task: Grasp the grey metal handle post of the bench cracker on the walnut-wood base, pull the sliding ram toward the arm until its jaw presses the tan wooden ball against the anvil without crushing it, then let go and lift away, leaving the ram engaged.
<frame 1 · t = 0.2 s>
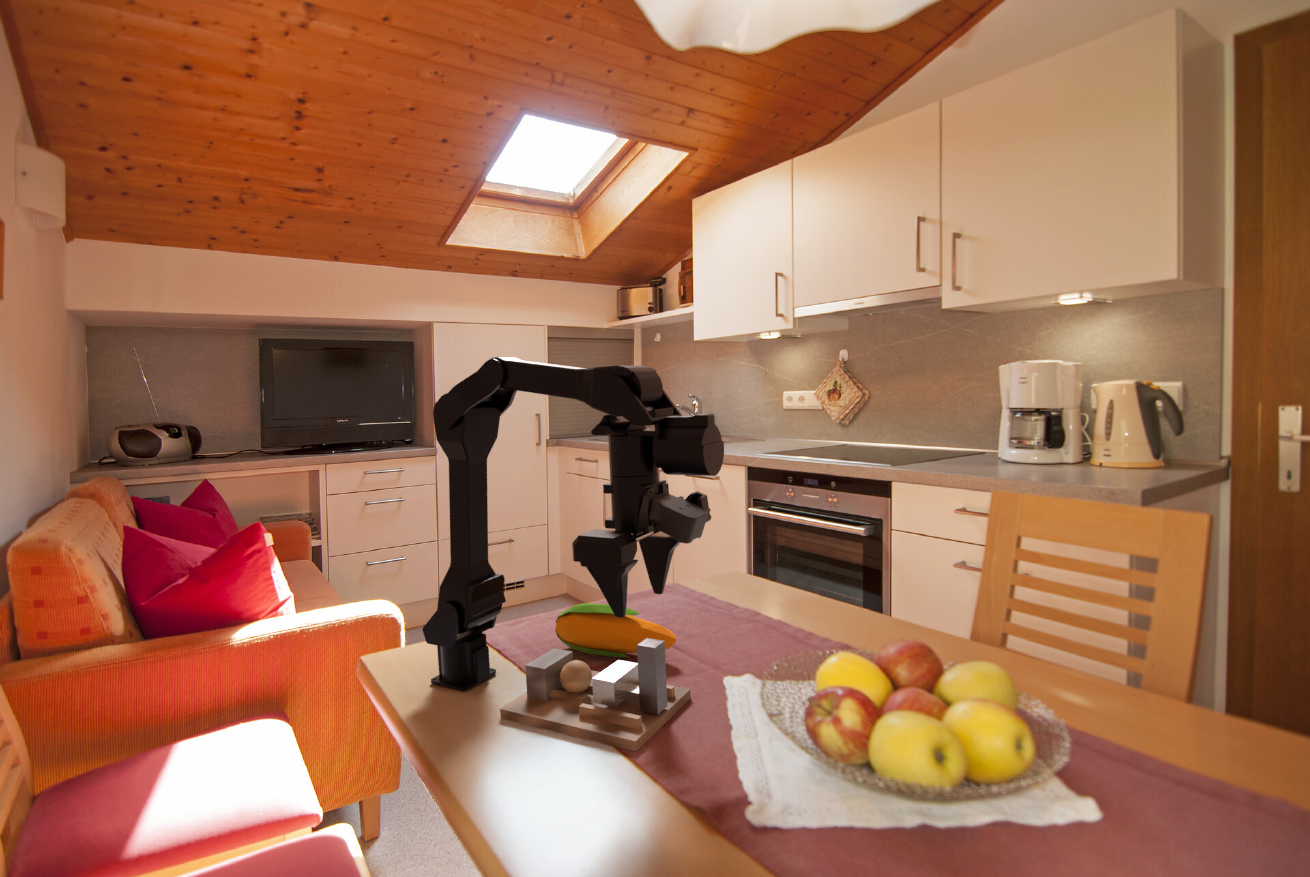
hand: (640, 604, 83), 14 cm above the table, fingers open, 9 cm apart
base: (597, 707, 87), on the table
ram: (632, 672, 84), point 6 cm above the table, slide at 0.0 cm
corn: (617, 654, 105), on the table
tan wooden ball: (576, 676, 88), point 4 cm above the table, touching base
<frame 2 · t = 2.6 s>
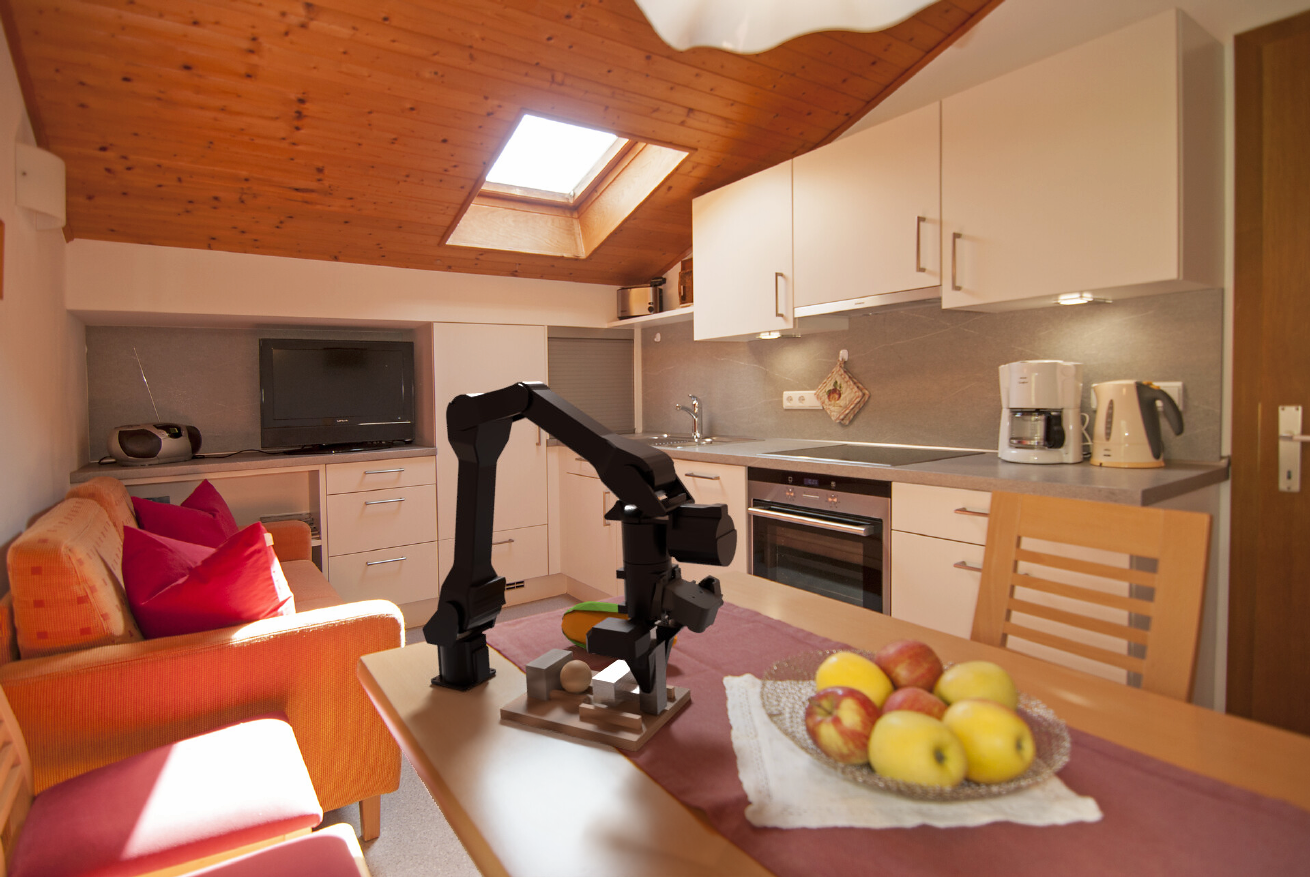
hand: (652, 687, 83), 4 cm above the table, fingers closed on ram, 2 cm apart
ram: (632, 672, 84), point 6 cm above the table, slide at 0.0 cm, touching gripper
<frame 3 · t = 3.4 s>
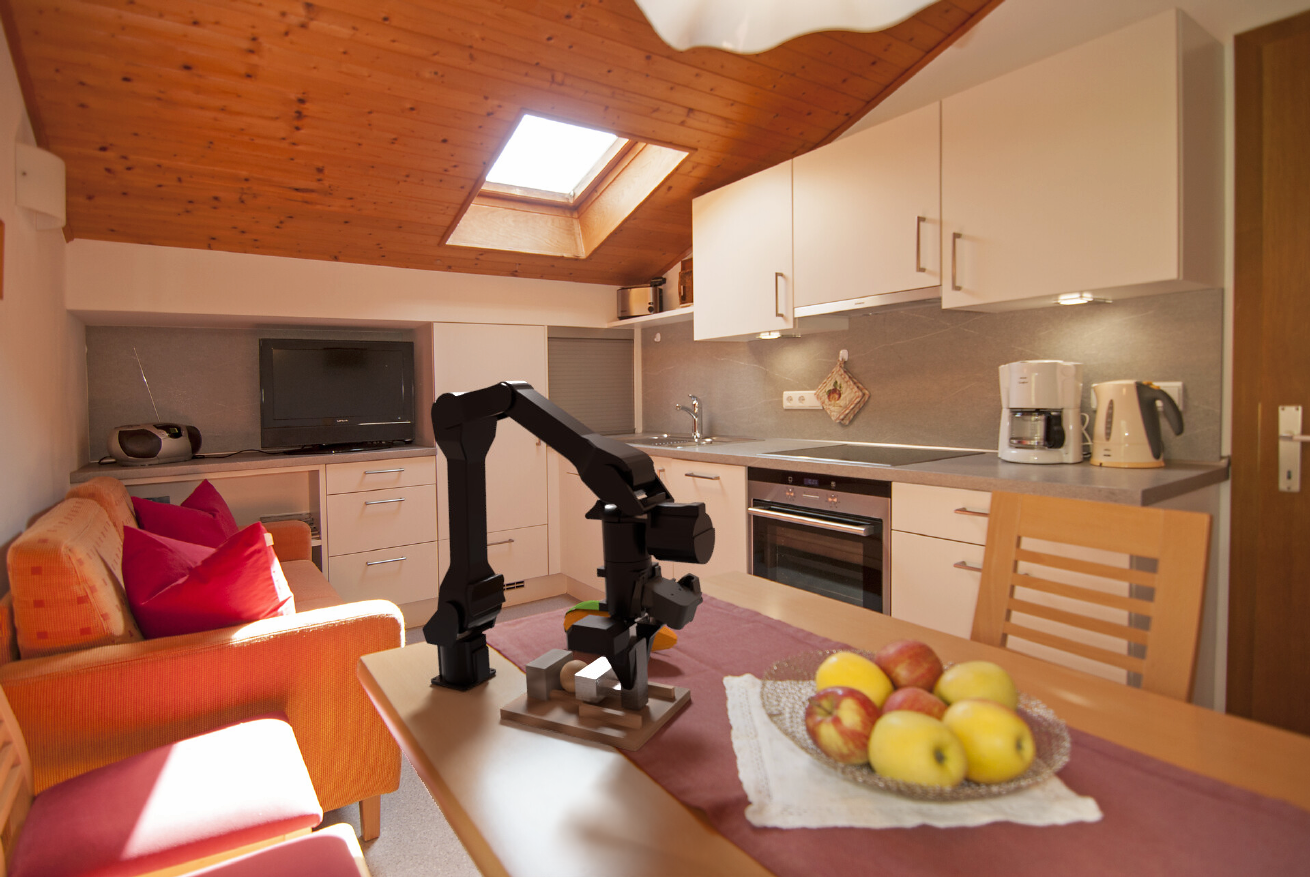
hand: (633, 684, 84), 4 cm above the table, fingers closed on ram, 2 cm apart
ram: (614, 668, 85), point 6 cm above the table, slide at 2.5 cm, touching gripper, tan wooden ball
tan wooden ball: (575, 676, 88), point 4 cm above the table, touching base, ram
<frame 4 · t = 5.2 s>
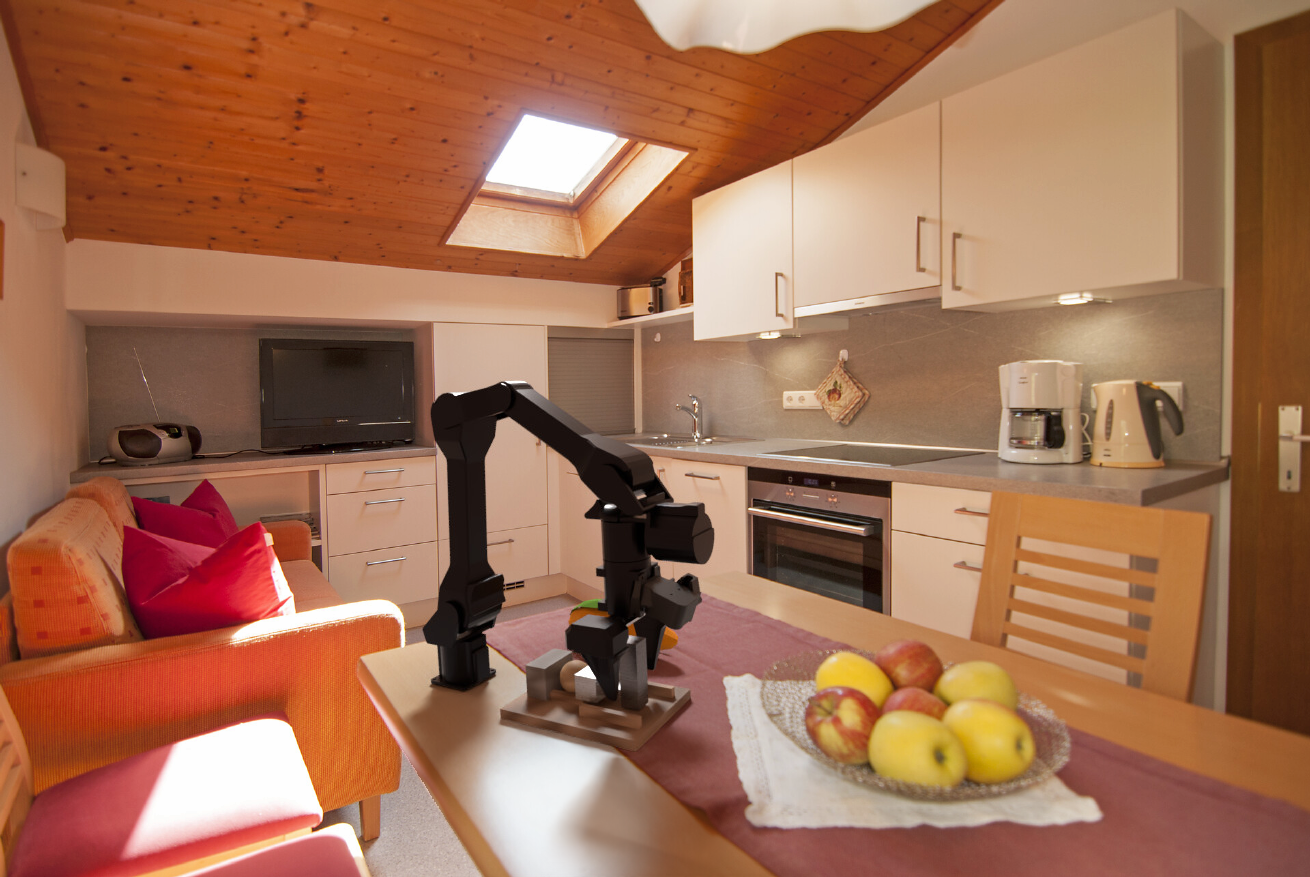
hand: (632, 684, 84), 4 cm above the table, fingers open, 9 cm apart
ram: (614, 668, 85), point 6 cm above the table, slide at 2.6 cm, touching tan wooden ball
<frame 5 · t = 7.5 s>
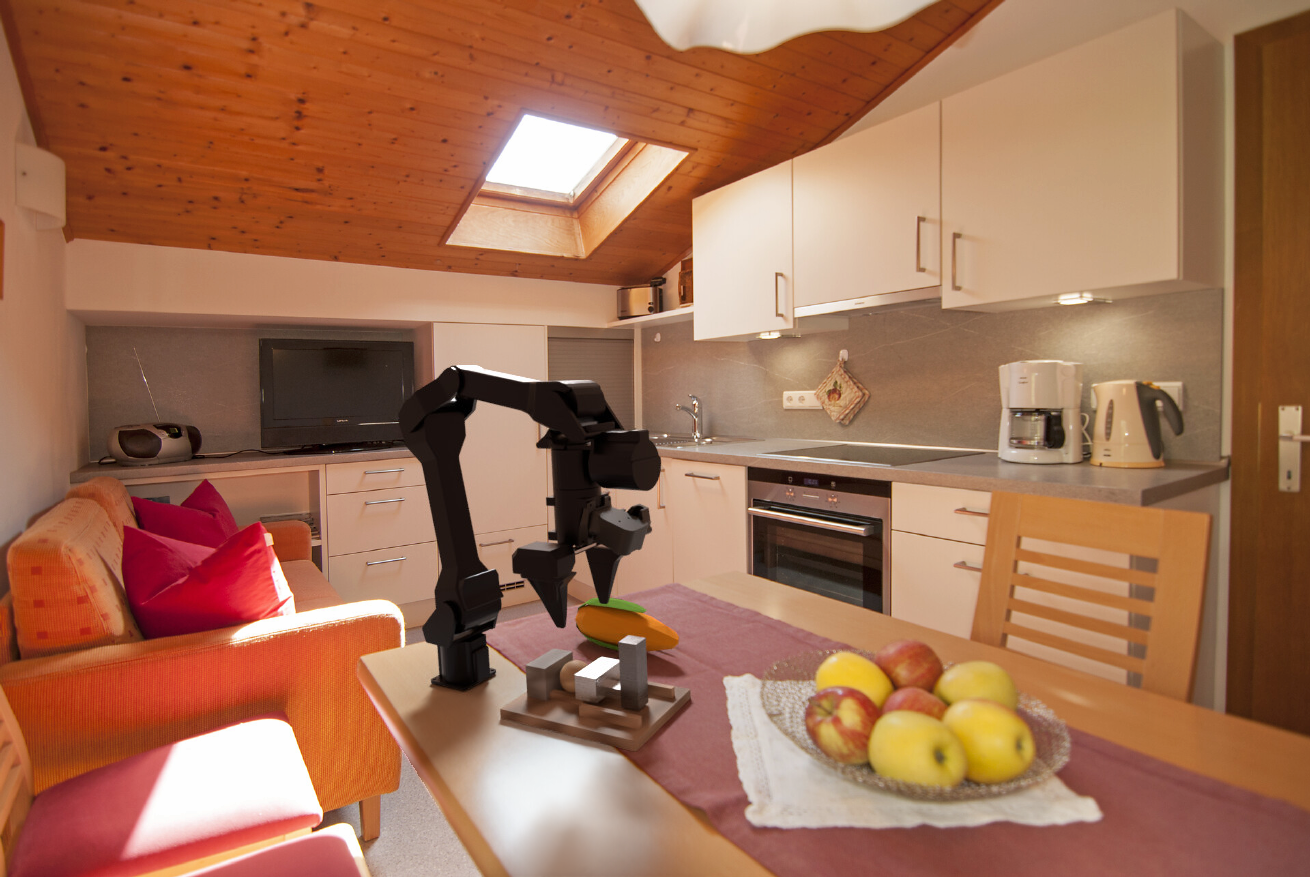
hand: (583, 614, 84), 13 cm above the table, fingers open, 9 cm apart
at the end: ram slide at 2.6 cm; tan wooden ball 0.1 cm from the target spot on the base, point 3.5 cm above the base's base; the gripper is holding nothing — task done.
